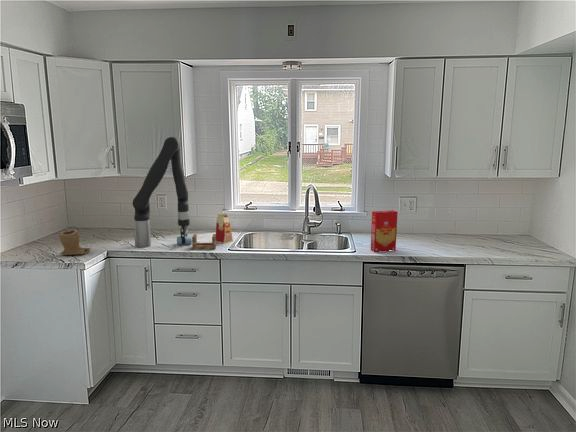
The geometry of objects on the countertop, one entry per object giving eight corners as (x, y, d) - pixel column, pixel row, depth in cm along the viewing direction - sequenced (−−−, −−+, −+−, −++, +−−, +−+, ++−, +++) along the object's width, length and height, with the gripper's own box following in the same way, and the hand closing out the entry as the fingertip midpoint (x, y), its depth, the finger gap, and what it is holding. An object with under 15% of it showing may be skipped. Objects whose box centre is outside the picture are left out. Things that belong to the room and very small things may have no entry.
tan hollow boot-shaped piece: (57, 257, 258) (54, 232, 256) (66, 252, 270) (64, 228, 267) (83, 257, 259) (81, 232, 256) (91, 252, 271) (89, 228, 268)
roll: (176, 246, 288) (176, 238, 286) (177, 242, 293) (177, 235, 291) (191, 245, 289) (191, 238, 287) (192, 242, 294) (192, 235, 292)
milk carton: (233, 241, 300) (232, 212, 297) (224, 243, 292) (223, 214, 289) (222, 239, 305) (221, 211, 301) (213, 242, 297) (213, 213, 293)
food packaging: (374, 252, 273) (376, 212, 269) (370, 250, 278) (372, 211, 274) (395, 250, 277) (397, 211, 273) (391, 248, 282) (393, 210, 278)
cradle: (192, 249, 277) (192, 237, 276) (194, 246, 286) (193, 234, 284) (214, 249, 278) (214, 237, 277) (216, 245, 287) (215, 233, 286)
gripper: (179, 216, 293) (180, 239, 296) (175, 220, 279) (177, 245, 282) (190, 216, 294) (191, 239, 297) (187, 220, 280) (188, 244, 283)
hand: (184, 242), depth 289 cm, fingers open, 8 cm apart
